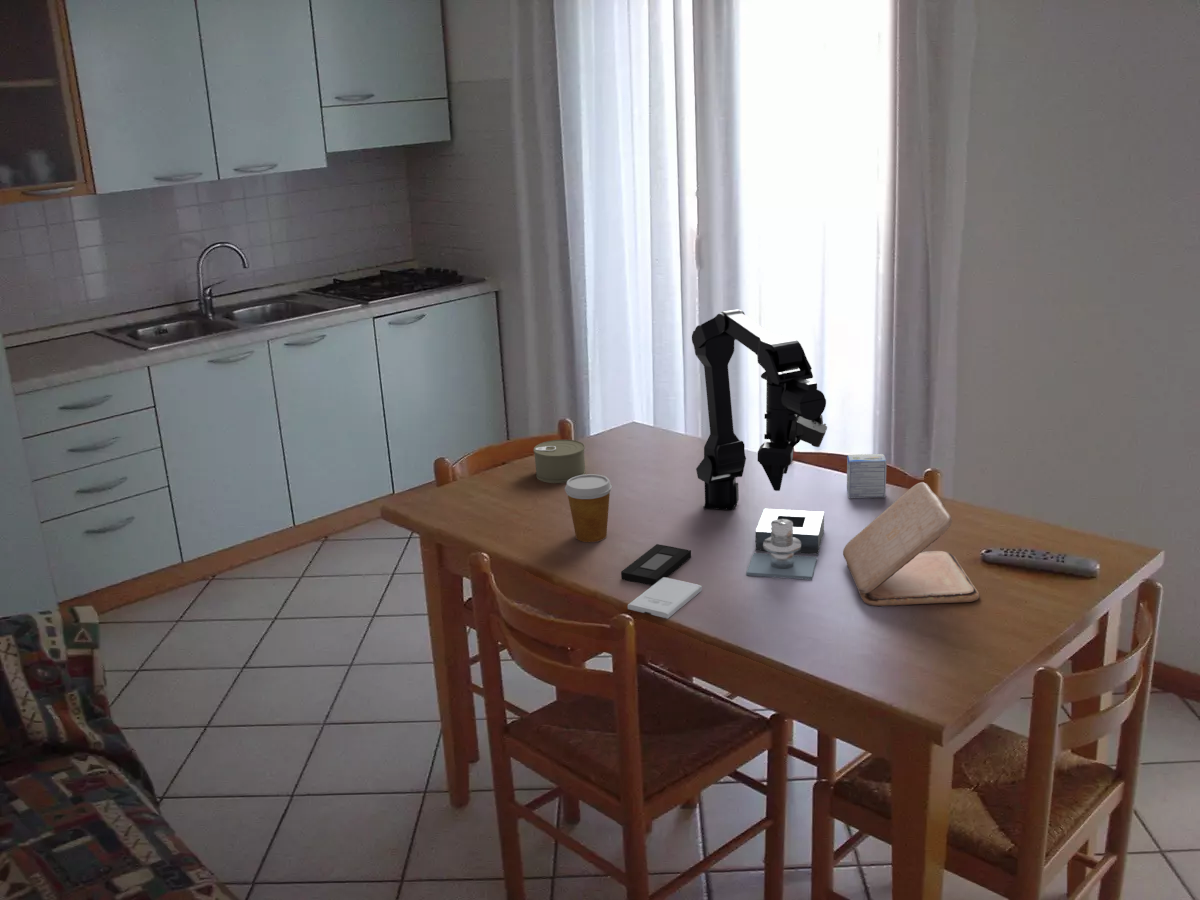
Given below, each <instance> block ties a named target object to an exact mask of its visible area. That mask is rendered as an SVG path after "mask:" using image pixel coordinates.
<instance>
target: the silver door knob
mask: <svg viewBox="0 0 1200 900" xmlns="http://www.w3.org/2000/svg"><path fill="white" fill-rule="evenodd" d="M763 548H764V549H765V550H766V551H765V552H768V553H769V554H770V565H771V566H772V567H774V568H778V569H787V568H791V567H793V566H794V555H795V554H796V553H795V552H797V551H799V550H800V549H801V541H800V540H799V539H797V538H794V537H793V522H792V521H791V520H787V519H776V520H773V521H772V522H771V537H769V538H767V539H765V540H764V542H763Z"/></svg>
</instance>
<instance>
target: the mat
mask: <svg viewBox="0 0 1200 900" xmlns="http://www.w3.org/2000/svg"><path fill="white" fill-rule="evenodd" d="M817 561H818V556H812V555H811V556H810V555H809V556H807V555H795V554H794V566H793V567H791V568H787V569H778V568H774V567H772V566H771V565H770V553H761V552H753V554H752V556H751V560H750V562H749V564H748V567H747V570H746V576H750V577H751V576H752V577H753V576H754V577H764V578H765V577H767V578H782V579H796V580H808V581H810V580H813V577H814V572H815V569H816V565H817Z"/></svg>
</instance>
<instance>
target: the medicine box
mask: <svg viewBox="0 0 1200 900" xmlns="http://www.w3.org/2000/svg"><path fill="white" fill-rule="evenodd" d="M846 461H847V462H846V492H847V496H848V498H849V499H868V498H872V499H874V498H886V495H887V494H886V492H887V462H888V461H887V459H886V456H885V455H884V454H883V453H879V454H878V453H877V454H876V453H867V454H866V453H865V454H863V453H862V454H848V455H847V456H846Z"/></svg>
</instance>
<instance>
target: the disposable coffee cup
mask: <svg viewBox="0 0 1200 900" xmlns="http://www.w3.org/2000/svg"><path fill="white" fill-rule="evenodd" d="M565 484H566V485H565V486H564V491H565V493H566V495H567V499H568V503H569V508H570V513H571V518H572V524H573V529H574V534H575V539H576V540H577V541H579V542H583V543H596V542H600V541H602V540H604V539H605V538H607V535H608V534H607V533H608V521H609V520H608V519H609V511H610V510H609V509H610V507H609V506H610V495H611V494H610V492H611V490H612V488H613V486H612V483H611V482H610V479H609V477H607V476H606V475H602V474H594V473H588V474H586V473H585V475H579V476H575V477H572V478H570V479H569V480H568V481H567V483H565Z"/></svg>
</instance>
